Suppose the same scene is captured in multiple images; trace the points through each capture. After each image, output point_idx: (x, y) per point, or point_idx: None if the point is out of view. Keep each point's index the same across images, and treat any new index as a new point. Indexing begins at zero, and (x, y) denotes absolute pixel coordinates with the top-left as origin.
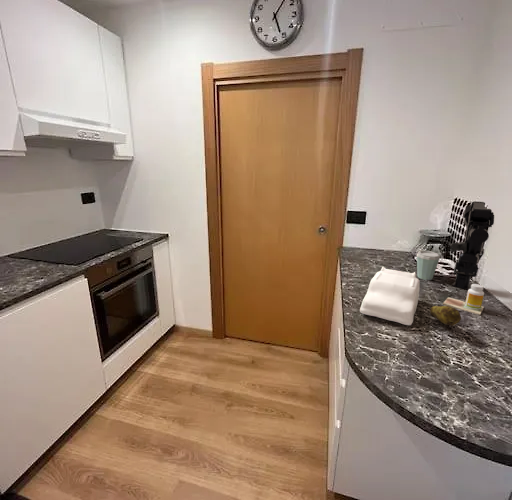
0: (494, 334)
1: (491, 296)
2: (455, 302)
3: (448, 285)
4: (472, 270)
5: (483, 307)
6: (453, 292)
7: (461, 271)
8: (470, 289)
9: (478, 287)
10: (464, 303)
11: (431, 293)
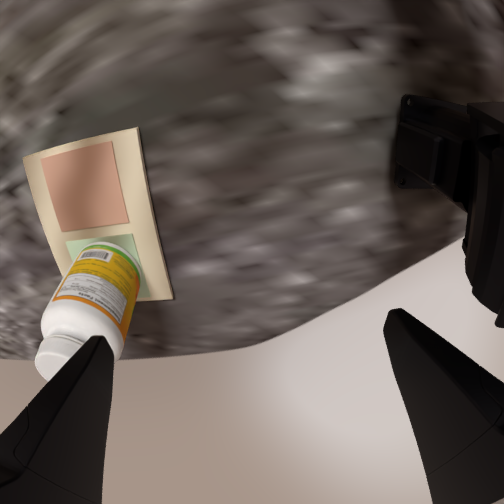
0: (7, 341)
1: (377, 279)
2: (85, 195)
3: (416, 70)
4: (472, 274)
5: (160, 299)
6: (297, 116)
7: (475, 175)
8: (53, 324)
9: (46, 379)
10: (122, 229)
11: (139, 22)
